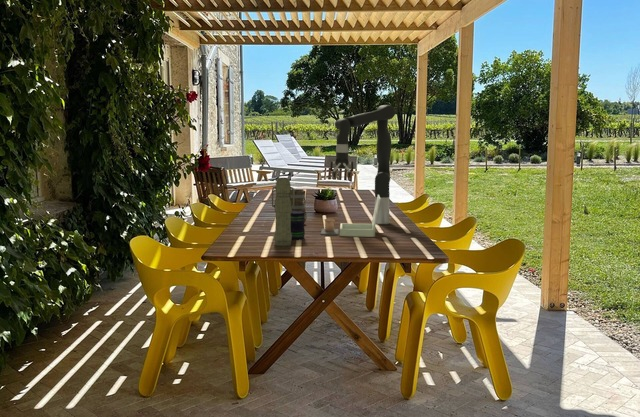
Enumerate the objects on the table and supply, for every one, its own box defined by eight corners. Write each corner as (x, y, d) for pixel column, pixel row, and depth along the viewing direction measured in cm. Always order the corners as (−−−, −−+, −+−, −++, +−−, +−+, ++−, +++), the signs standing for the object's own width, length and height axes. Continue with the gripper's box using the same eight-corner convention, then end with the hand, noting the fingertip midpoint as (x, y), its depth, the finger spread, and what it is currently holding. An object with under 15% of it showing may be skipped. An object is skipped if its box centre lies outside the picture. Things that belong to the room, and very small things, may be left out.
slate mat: (338, 230, 346) (338, 229, 346) (338, 235, 330) (338, 233, 330) (322, 229, 347) (322, 228, 347) (320, 234, 331) (320, 233, 331)
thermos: (295, 246, 299) (295, 178, 294) (272, 246, 297) (272, 178, 292) (293, 242, 307) (294, 177, 302) (271, 243, 306) (271, 177, 301)
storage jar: (300, 241, 312) (300, 213, 310) (284, 239, 316) (284, 212, 314) (307, 237, 322) (307, 211, 320) (291, 236, 325) (291, 210, 323)
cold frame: (378, 230, 347) (379, 194, 344) (379, 236, 327) (380, 198, 324) (340, 229, 348) (341, 193, 345) (339, 235, 328) (340, 197, 325)
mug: (304, 212, 416) (305, 191, 414) (286, 212, 417) (286, 191, 414) (306, 208, 436) (306, 188, 433) (288, 208, 436) (288, 188, 434)
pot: (334, 230, 341) (334, 218, 340) (334, 232, 335) (334, 220, 334) (324, 230, 341) (324, 218, 341) (324, 231, 336) (324, 220, 335)
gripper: (353, 151, 358) (353, 177, 360) (330, 151, 359) (330, 177, 361) (353, 152, 350) (353, 178, 353) (330, 151, 351) (329, 178, 353)
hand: (341, 178), depth 357 cm, fingers open, 8 cm apart
